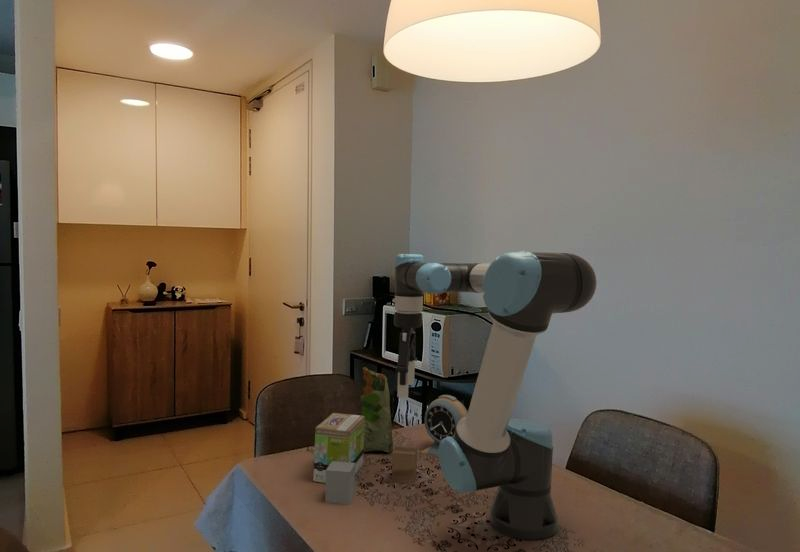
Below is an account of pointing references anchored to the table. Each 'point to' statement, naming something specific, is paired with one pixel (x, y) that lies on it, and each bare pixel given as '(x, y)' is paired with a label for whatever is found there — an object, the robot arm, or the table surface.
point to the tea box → (338, 443)
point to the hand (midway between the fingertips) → (406, 390)
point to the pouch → (376, 412)
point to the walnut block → (404, 464)
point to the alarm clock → (442, 420)
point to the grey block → (340, 482)
